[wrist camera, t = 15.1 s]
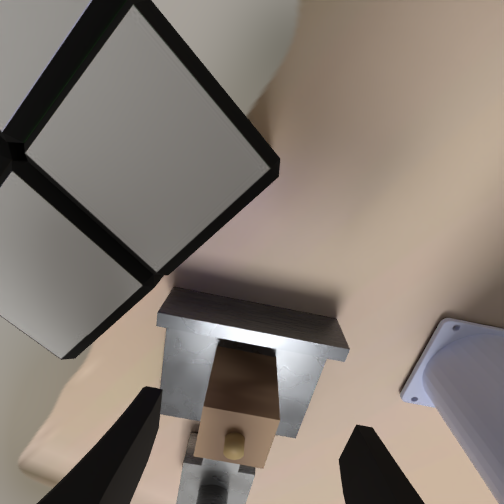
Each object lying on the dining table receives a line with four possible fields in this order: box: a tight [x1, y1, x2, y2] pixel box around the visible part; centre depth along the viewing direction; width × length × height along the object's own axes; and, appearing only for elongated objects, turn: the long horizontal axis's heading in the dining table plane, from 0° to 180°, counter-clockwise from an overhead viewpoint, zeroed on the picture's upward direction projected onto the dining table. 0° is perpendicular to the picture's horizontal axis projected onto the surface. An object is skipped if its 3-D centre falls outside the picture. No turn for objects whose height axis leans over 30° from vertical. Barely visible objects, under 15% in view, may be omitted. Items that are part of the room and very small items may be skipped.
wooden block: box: [194, 346, 280, 468], centre depth 18 cm, size 4×4×6 cm
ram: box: [176, 433, 255, 504], centre depth 22 cm, size 6×9×7 cm, turn 169°
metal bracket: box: [156, 287, 350, 438], centre depth 20 cm, size 12×12×3 cm
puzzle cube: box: [0, 0, 280, 360], centre depth 11 cm, size 10×10×10 cm
